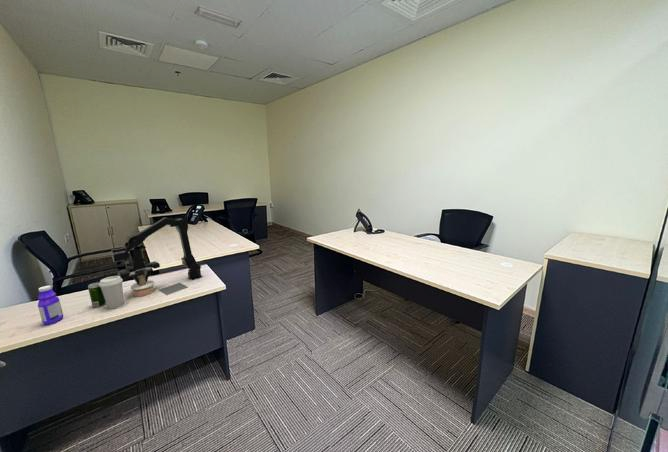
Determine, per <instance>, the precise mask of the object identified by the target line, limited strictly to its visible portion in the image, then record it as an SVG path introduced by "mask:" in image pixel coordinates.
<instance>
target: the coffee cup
mask: <svg viewBox="0 0 668 452" xmlns="http://www.w3.org/2000/svg"><path fill="white" fill-rule="evenodd" d="M99 282H100V283H99V286H100V287H101V289H102V292H103V295H104V298H105V300H106V305H107V308H108V309H109V310H111V309H112V310H113V309H116V308H117V309H118V308H120V307H123V305H125V300H124V291H123V282H124V280H123V278H121V277H120V276H118V275H114V276H113V275H112V276H107V277H105V278H102V279H100V281H99Z"/></svg>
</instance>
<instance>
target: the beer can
mask: <svg viewBox="0 0 668 452" xmlns="http://www.w3.org/2000/svg"><path fill="white" fill-rule="evenodd" d="M99 283H100V281H98V282H93V283H90V284H88V285H87V290H88V293H89V297H90V301H91V302H90V303H91V305H92V307H93V308H96V309H97V308H101V307H104V306H105V305H107V303H106V300H105V298H104V295H103V292H102V289H101V287H100V286H99Z"/></svg>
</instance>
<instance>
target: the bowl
mask: <svg viewBox="0 0 668 452" xmlns="http://www.w3.org/2000/svg"><path fill="white" fill-rule="evenodd" d="M131 290H132V289H131ZM154 291H155V286H154V285H152V286H151V287H148V288H145V289H141V290H132V295H133V296H134V297H144V296H148V295H151V294H153V293H154Z"/></svg>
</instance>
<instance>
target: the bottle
mask: <svg viewBox="0 0 668 452" xmlns="http://www.w3.org/2000/svg"><path fill="white" fill-rule="evenodd" d="M37 299H38V303H37V308H38V312H39V316H40V318H41V322H42V324H43V325H52V324H55V323H57V322H59V321H61V320H62V319H63V318H64V312H63V308H62V304H61V300H60V298H59V297H58V296H57V293H56V292H54V290H53V288H52V285H44V286H41V287H39V288H38V297H37Z"/></svg>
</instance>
